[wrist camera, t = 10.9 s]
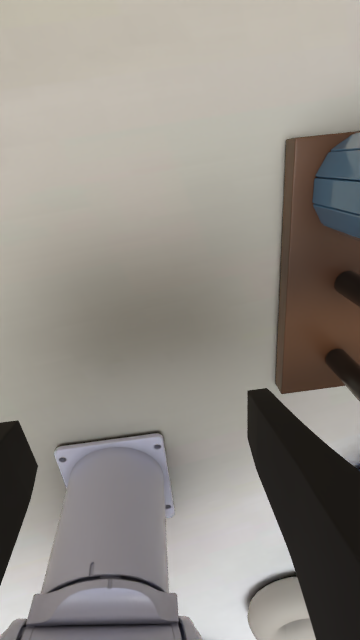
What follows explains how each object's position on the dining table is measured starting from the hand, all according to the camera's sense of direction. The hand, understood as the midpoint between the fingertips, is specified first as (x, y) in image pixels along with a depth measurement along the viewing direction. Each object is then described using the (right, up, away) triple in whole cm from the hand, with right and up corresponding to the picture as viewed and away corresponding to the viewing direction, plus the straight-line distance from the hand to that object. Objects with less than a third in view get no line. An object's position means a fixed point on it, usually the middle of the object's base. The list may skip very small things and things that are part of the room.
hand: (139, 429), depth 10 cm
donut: (+13, -27, +26) cm, 40 cm away
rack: (+11, +6, +10) cm, 16 cm away
